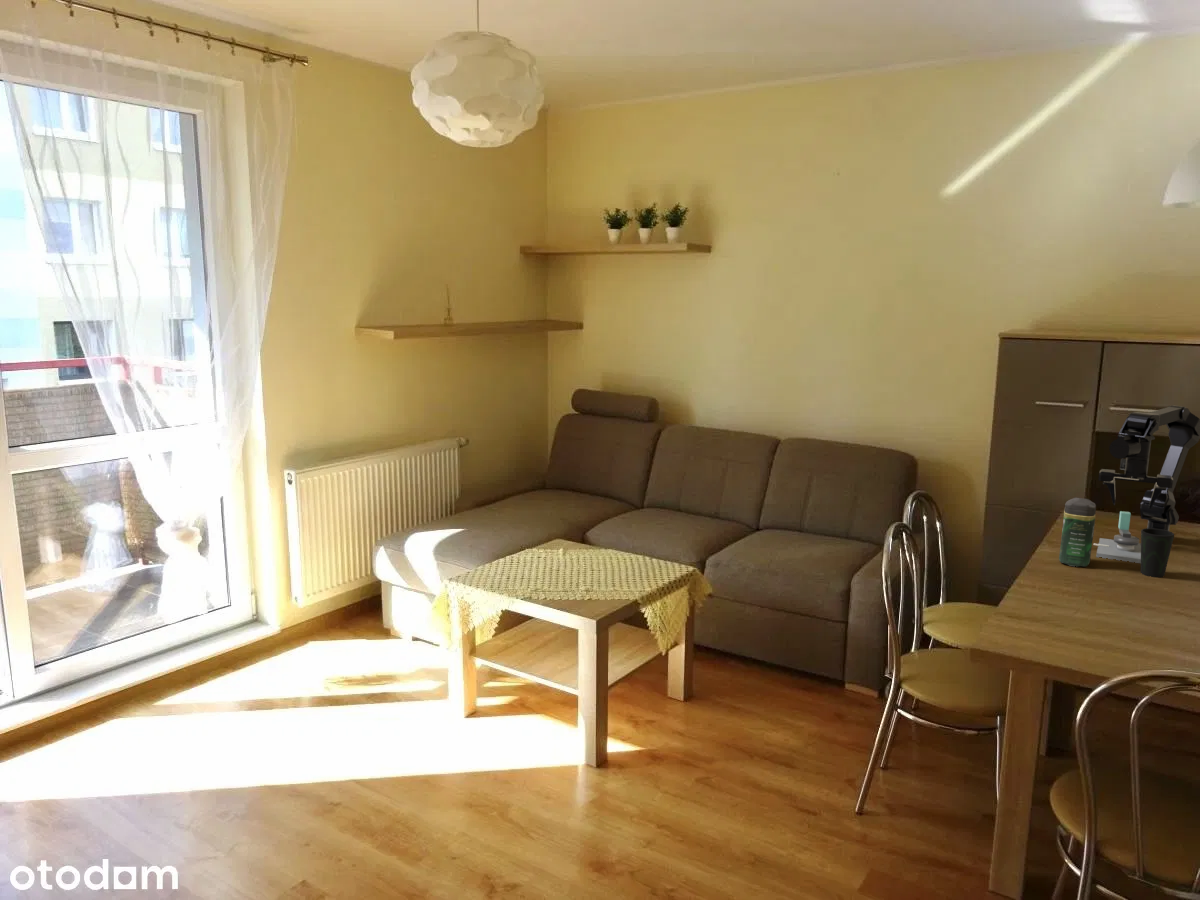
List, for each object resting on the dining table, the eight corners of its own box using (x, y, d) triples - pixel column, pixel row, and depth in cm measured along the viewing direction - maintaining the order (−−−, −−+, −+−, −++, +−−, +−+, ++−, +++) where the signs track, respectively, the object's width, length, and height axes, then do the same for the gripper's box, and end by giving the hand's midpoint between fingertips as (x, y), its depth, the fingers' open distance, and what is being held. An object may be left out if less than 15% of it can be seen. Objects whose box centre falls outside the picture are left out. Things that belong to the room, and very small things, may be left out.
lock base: (1094, 541, 272) (1095, 531, 271) (1152, 548, 264) (1153, 539, 263) (1091, 556, 257) (1092, 546, 256) (1152, 565, 249) (1153, 555, 248)
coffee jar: (1089, 569, 245) (1096, 505, 242) (1057, 564, 249) (1064, 501, 246) (1090, 560, 253) (1097, 497, 250) (1060, 555, 257) (1066, 494, 254)
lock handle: (1133, 536, 265) (1136, 512, 263) (1140, 546, 255) (1143, 521, 254) (1109, 534, 267) (1112, 510, 266) (1115, 544, 258) (1118, 519, 256)
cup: (1167, 580, 236) (1172, 537, 234) (1134, 574, 241) (1139, 532, 238) (1170, 573, 242) (1175, 531, 240) (1138, 567, 247) (1143, 526, 244)
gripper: (1175, 454, 261) (1168, 505, 264) (1103, 447, 271) (1097, 496, 274) (1175, 460, 252) (1168, 513, 255) (1101, 453, 262) (1095, 504, 265)
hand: (1131, 506), depth 262 cm, fingers open, 9 cm apart
